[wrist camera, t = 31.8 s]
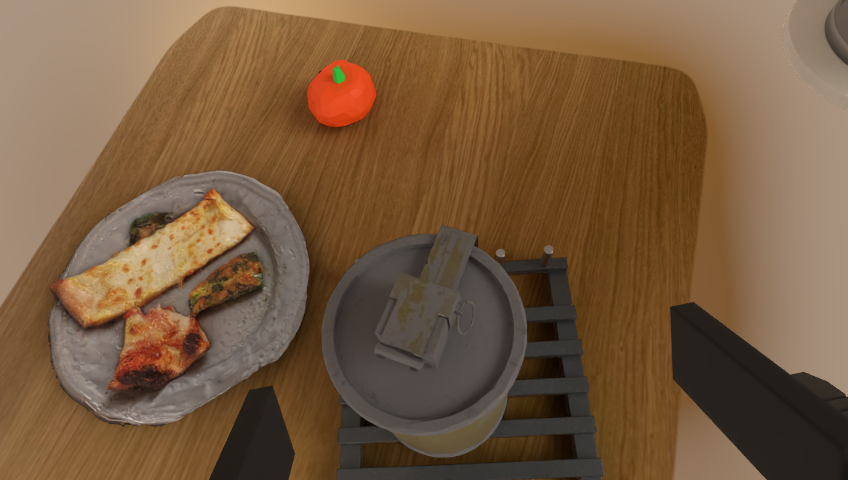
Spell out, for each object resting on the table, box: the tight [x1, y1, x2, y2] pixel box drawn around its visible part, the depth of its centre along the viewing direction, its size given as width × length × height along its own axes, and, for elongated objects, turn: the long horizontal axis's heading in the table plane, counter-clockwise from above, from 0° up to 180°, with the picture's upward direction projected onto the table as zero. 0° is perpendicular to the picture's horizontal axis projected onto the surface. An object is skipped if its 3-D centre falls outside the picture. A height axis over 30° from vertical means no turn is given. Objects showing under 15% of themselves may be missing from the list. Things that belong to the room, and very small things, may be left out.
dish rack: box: [337, 245, 604, 480], centre depth 41 cm, size 20×22×6 cm
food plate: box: [48, 170, 310, 426], centre depth 48 cm, size 25×23×4 cm
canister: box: [321, 225, 527, 457], centre depth 32 cm, size 11×10×20 cm
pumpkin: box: [307, 60, 377, 127], centre depth 55 cm, size 7×8×6 cm
